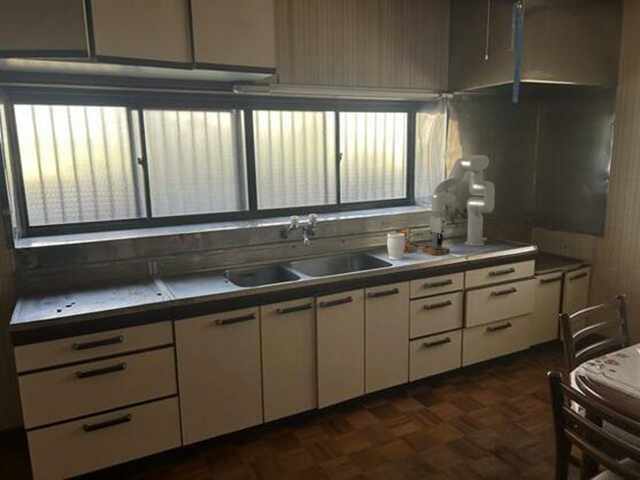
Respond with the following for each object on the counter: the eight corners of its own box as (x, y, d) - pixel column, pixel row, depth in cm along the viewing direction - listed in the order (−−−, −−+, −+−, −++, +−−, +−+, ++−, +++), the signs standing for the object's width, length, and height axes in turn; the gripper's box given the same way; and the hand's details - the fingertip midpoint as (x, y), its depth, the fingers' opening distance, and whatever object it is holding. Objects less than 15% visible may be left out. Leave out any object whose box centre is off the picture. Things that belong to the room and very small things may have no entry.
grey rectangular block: (437, 247, 302) (437, 230, 300) (441, 248, 298) (442, 231, 296) (432, 247, 300) (432, 230, 298) (436, 248, 296) (437, 231, 294)
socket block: (429, 249, 314) (429, 244, 314) (449, 255, 299) (449, 248, 298) (414, 252, 309) (415, 246, 308) (434, 257, 293) (434, 251, 292)
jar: (393, 255, 301) (393, 231, 298) (407, 257, 295) (408, 233, 292) (383, 259, 293) (383, 234, 290) (398, 261, 287) (399, 236, 284)
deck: (442, 248, 318) (442, 246, 318) (451, 250, 312) (451, 248, 311) (433, 249, 315) (433, 248, 314) (441, 251, 308) (441, 250, 308)
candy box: (394, 252, 311) (394, 228, 308) (397, 251, 314) (397, 227, 311) (408, 253, 306) (408, 229, 303) (410, 252, 310) (410, 228, 307)
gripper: (452, 215, 290) (451, 245, 293) (433, 212, 304) (432, 241, 308) (442, 216, 286) (442, 246, 290) (423, 213, 300) (423, 242, 304)
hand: (437, 243), depth 299 cm, fingers closed on grey rectangular block, 4 cm apart
